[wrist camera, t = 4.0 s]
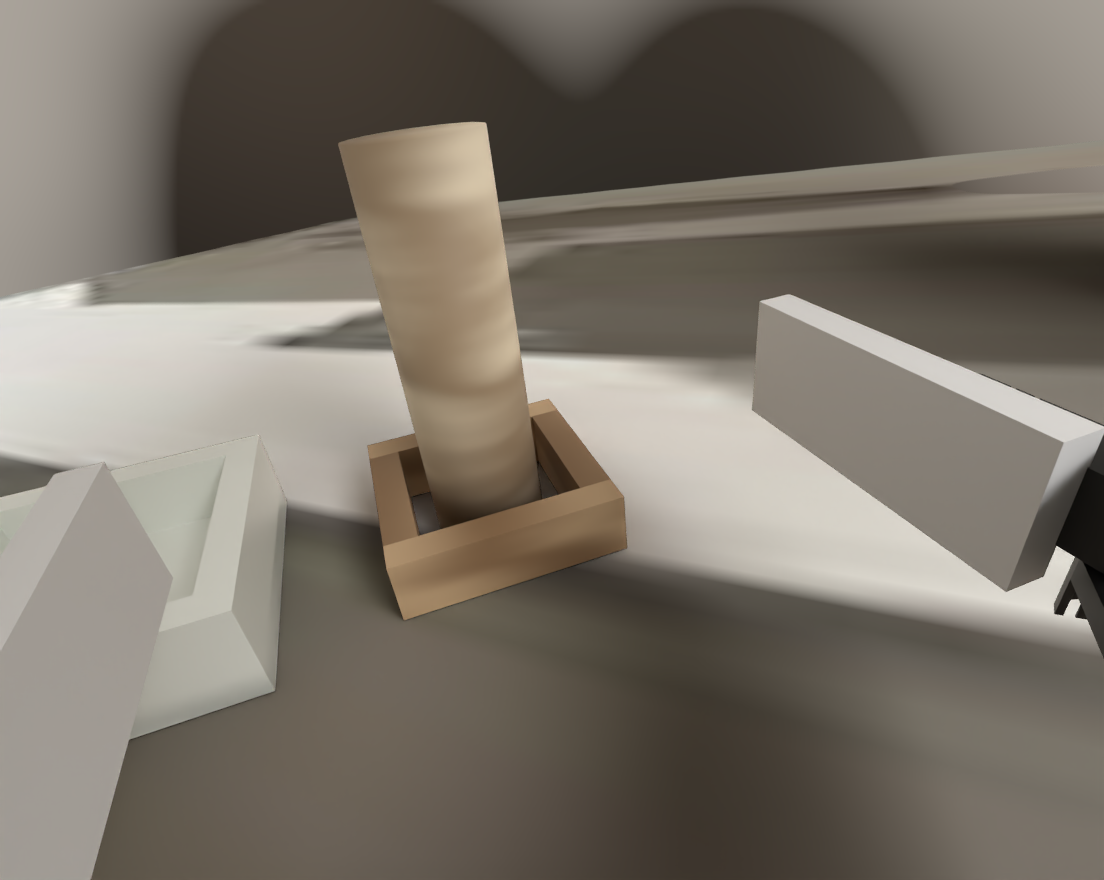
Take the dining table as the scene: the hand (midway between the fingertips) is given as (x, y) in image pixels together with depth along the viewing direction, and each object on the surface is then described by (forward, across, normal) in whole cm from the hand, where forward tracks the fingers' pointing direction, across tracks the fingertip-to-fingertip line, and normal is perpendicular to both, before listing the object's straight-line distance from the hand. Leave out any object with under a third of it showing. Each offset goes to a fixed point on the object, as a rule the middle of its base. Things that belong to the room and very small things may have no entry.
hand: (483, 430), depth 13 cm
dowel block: (+6, +1, -7) cm, 9 cm away
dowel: (+6, +1, -7) cm, 9 cm away
